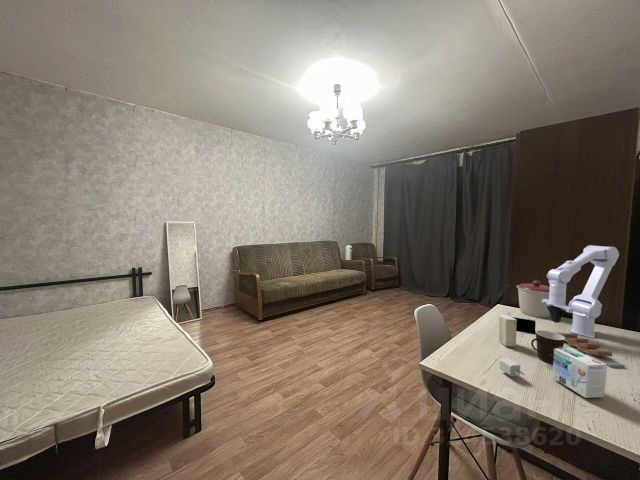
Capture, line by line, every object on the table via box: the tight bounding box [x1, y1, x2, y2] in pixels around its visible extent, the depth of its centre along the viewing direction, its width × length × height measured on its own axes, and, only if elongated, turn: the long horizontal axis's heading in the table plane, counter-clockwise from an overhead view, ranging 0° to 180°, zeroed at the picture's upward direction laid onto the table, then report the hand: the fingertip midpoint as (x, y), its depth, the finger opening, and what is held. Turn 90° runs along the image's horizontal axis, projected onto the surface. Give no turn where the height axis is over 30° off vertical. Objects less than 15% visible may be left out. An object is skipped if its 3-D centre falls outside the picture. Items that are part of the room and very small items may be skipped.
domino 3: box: [567, 342, 602, 350], centre depth 105 cm, size 2×5×9 cm
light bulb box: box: [551, 347, 608, 399], centre depth 81 cm, size 11×7×11 cm, turn 5°
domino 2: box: [564, 337, 590, 343], centre depth 110 cm, size 2×5×9 cm
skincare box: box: [498, 314, 517, 347], centre depth 111 cm, size 6×4×12 cm
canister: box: [516, 280, 551, 319], centre depth 145 cm, size 18×18×21 cm
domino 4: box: [576, 347, 613, 357], centre depth 100 cm, size 2×5×9 cm
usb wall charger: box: [499, 358, 526, 377], centre depth 88 cm, size 4×7×4 cm, turn 7°
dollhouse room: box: [506, 311, 537, 335], centre depth 128 cm, size 12×12×7 cm
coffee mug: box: [530, 329, 566, 364], centre depth 99 cm, size 12×9×10 cm
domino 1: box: [556, 332, 579, 338], centre depth 115 cm, size 2×5×9 cm
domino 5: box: [585, 353, 625, 369], centre depth 97 cm, size 2×5×9 cm
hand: (555, 322), depth 119 cm, fingers closed
